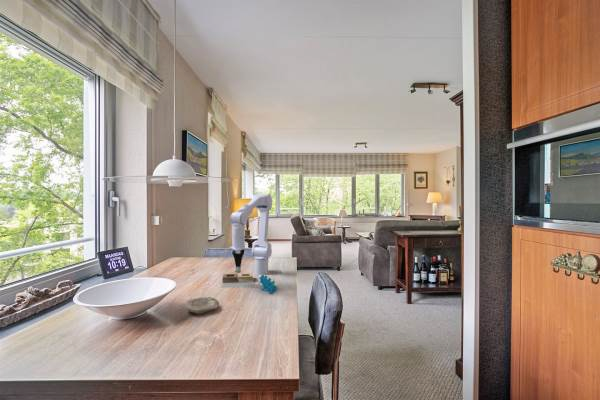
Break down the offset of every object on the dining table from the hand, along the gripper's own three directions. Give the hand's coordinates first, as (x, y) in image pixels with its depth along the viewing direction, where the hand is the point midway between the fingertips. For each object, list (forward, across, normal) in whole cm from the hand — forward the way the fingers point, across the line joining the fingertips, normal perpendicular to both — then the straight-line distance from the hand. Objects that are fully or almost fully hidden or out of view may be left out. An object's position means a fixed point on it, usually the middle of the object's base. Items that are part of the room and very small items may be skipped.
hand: (238, 266), depth 142 cm
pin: (+3, 0, 0) cm, 3 cm away
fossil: (+10, +28, -12) cm, 32 cm away
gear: (+10, +11, +14) cm, 20 cm away
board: (+10, -5, 0) cm, 11 cm away
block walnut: (+9, -8, -4) cm, 13 cm away
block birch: (+9, -8, +4) cm, 12 cm away
